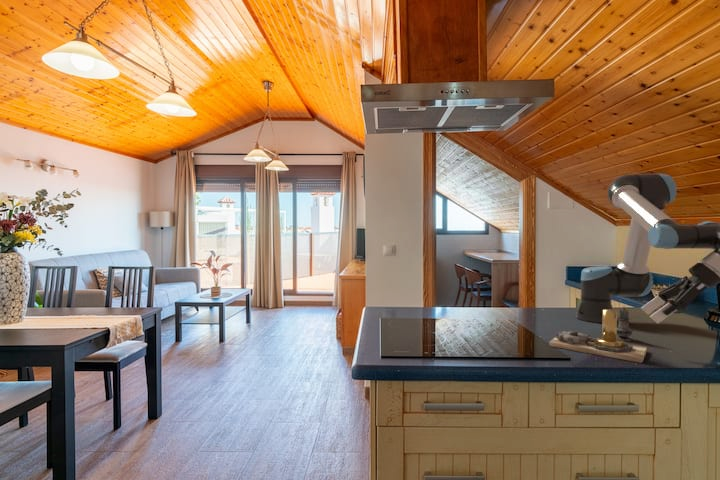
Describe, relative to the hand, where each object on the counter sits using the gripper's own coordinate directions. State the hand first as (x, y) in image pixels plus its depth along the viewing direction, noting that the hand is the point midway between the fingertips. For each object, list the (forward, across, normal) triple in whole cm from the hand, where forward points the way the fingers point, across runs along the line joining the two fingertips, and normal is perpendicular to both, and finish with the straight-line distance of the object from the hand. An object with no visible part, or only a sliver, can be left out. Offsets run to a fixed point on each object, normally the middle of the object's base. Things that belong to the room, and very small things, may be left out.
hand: (648, 315), depth 124 cm
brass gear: (+15, 0, -1) cm, 15 cm away
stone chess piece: (+12, +19, -6) cm, 23 cm away
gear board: (+19, +1, +1) cm, 19 cm away
